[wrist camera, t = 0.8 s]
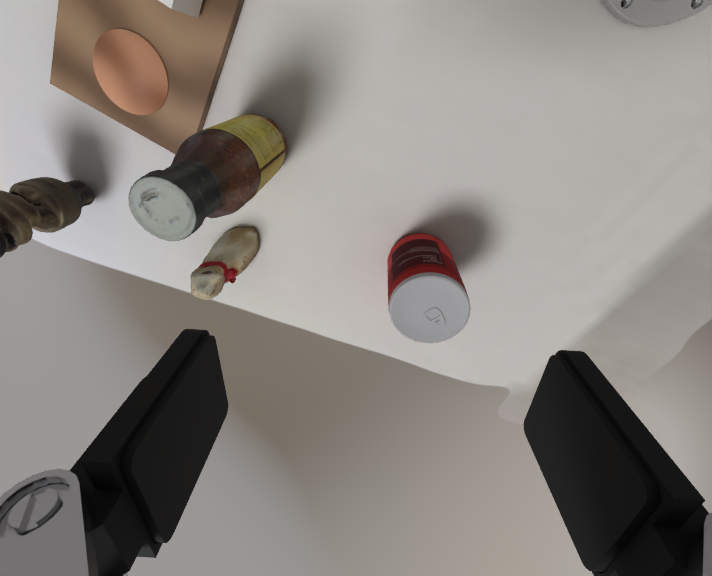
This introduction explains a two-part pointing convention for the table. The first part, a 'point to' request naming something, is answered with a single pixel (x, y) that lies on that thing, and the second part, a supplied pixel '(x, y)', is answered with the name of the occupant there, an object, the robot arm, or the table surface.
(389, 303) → the canned food
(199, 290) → the beige rounded lump
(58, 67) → the board
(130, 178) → the table surface
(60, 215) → the light bulb
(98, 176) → the table surface
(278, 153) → the sauce bottle
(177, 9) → the block
